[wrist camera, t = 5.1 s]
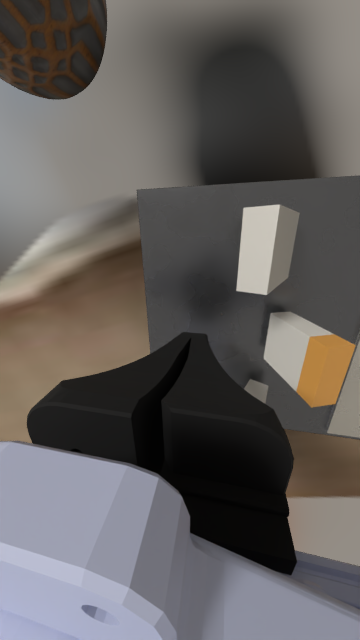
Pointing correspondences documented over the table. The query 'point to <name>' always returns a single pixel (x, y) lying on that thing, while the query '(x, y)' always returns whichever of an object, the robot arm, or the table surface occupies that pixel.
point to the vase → (51, 45)
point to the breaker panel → (249, 308)
